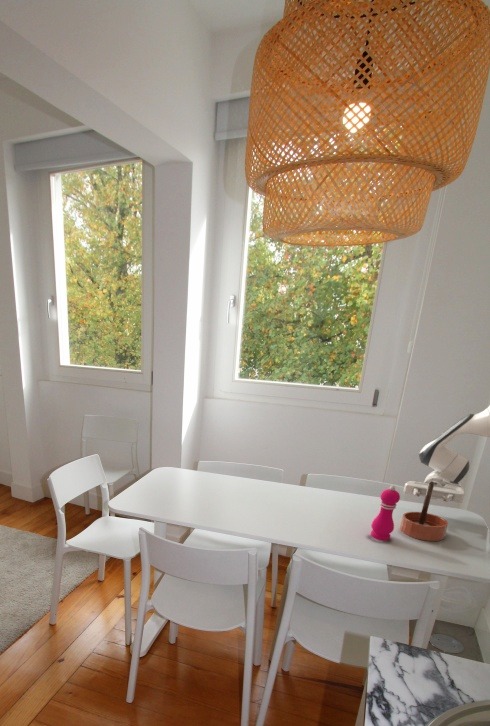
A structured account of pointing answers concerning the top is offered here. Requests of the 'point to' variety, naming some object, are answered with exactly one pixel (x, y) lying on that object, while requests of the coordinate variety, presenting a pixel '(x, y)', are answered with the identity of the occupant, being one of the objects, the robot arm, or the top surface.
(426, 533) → the bowl
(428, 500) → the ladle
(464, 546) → the top surface
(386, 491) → the pepper mill
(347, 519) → the top surface
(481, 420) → the robot arm
